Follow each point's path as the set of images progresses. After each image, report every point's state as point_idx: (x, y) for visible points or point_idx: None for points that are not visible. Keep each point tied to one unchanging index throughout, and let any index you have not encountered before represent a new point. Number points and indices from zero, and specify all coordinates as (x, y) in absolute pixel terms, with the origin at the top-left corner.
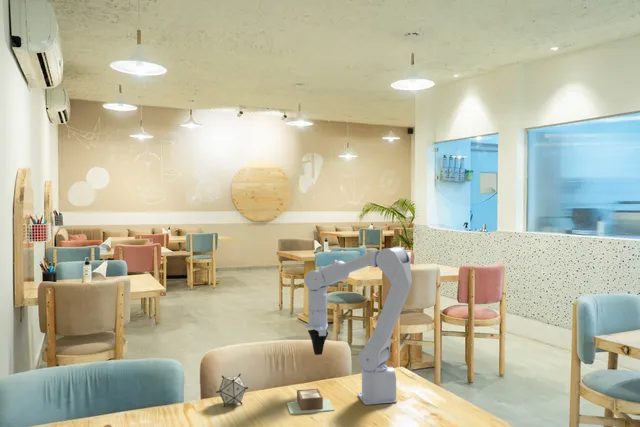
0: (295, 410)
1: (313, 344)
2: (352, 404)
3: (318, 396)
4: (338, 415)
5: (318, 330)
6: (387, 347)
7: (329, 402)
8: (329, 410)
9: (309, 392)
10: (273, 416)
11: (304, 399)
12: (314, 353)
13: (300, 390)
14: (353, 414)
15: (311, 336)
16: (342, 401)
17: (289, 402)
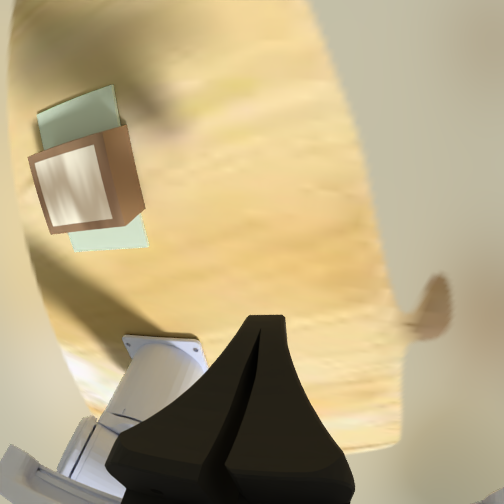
0: (53, 127)
1: (209, 371)
2: (126, 306)
3: (55, 221)
4: (53, 254)
5: (10, 485)
6: None
7: (119, 245)
8: (70, 236)
9: (82, 188)
10: (30, 63)
11: (32, 169)
12: (278, 316)
13: (101, 148)
14: (67, 291)
15: (126, 430)
16: (144, 286)
17: (112, 95)
